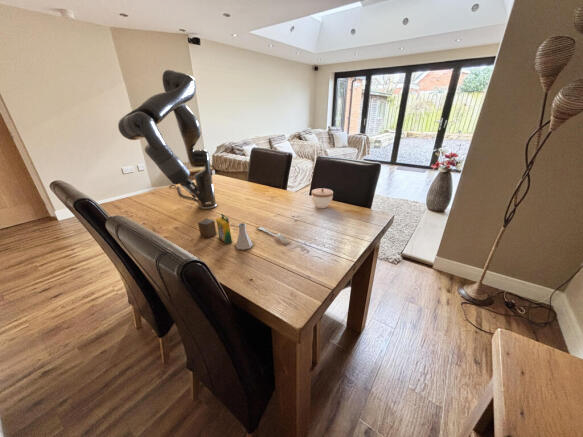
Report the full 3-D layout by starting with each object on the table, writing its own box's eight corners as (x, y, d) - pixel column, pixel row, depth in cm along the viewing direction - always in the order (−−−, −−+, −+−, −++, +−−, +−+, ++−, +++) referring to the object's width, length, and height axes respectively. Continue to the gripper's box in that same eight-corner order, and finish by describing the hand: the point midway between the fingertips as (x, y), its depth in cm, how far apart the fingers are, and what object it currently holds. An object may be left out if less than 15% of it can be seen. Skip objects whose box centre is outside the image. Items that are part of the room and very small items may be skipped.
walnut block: (200, 236, 108) (197, 222, 105) (208, 231, 112) (206, 218, 109) (208, 238, 106) (205, 224, 103) (216, 233, 110) (214, 220, 107)
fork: (262, 231, 117) (261, 226, 116) (290, 242, 102) (289, 237, 101) (257, 233, 115) (256, 228, 114) (285, 245, 100) (284, 239, 99)
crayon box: (218, 238, 106) (215, 214, 101) (225, 235, 108) (221, 212, 103) (225, 244, 101) (222, 220, 96) (232, 242, 103) (228, 218, 98)
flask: (236, 241, 103) (234, 221, 99) (253, 240, 104) (251, 220, 99) (234, 250, 97) (231, 229, 92) (252, 249, 97) (250, 228, 93)
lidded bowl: (308, 208, 137) (308, 190, 132) (314, 201, 147) (315, 184, 143) (329, 211, 132) (330, 192, 128) (334, 203, 143) (335, 186, 138)
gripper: (189, 165, 81) (215, 198, 92) (174, 158, 90) (200, 189, 101) (171, 179, 78) (200, 211, 89) (158, 170, 88) (186, 200, 99)
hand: (200, 199), depth 95 cm, fingers open, 8 cm apart
